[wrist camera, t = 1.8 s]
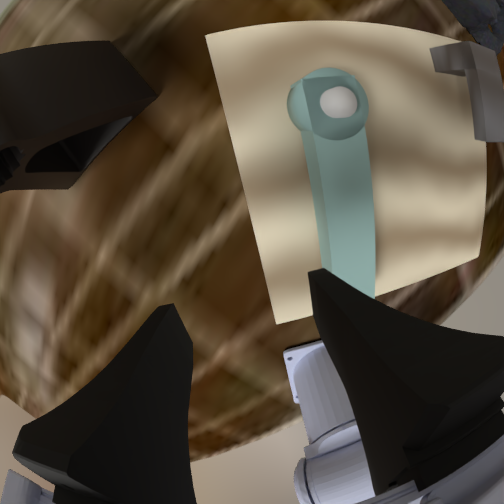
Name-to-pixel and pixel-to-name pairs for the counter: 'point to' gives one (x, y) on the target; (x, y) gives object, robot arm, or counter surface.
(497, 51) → the dark grey cloth
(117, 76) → the phone stand
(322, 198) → the link
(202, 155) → the counter surface
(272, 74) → the keeper board
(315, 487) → the robot arm
